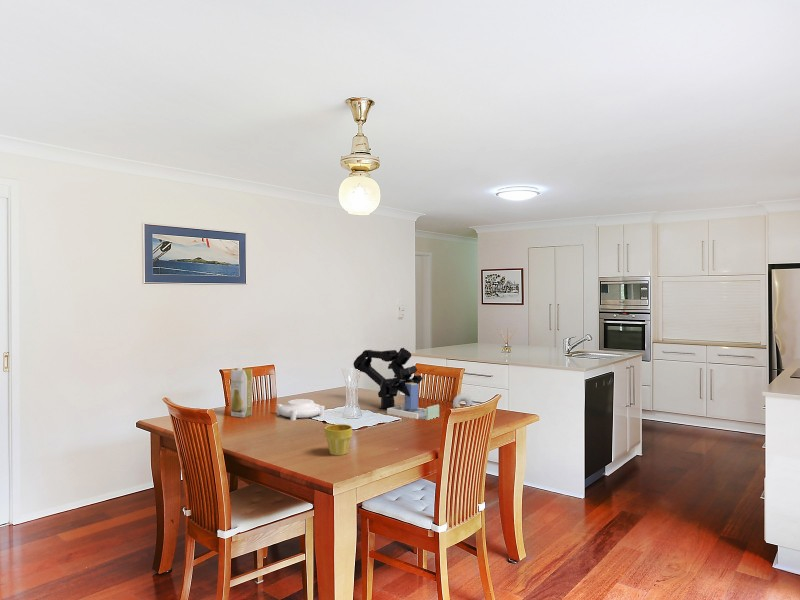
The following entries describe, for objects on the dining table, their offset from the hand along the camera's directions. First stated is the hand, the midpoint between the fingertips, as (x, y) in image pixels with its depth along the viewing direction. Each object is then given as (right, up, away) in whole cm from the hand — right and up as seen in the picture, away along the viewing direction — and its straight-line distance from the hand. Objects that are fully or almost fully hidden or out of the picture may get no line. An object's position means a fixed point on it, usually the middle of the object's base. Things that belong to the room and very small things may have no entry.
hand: (413, 395), depth 277 cm
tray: (+2, -10, -2) cm, 10 cm away
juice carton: (-84, -9, -4) cm, 84 cm away
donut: (+25, -10, +4) cm, 27 cm away
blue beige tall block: (-1, -7, +1) cm, 7 cm away
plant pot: (-30, -11, -66) cm, 73 cm away
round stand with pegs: (-55, -10, -1) cm, 56 cm away
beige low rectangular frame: (-1, -10, +2) cm, 10 cm away
